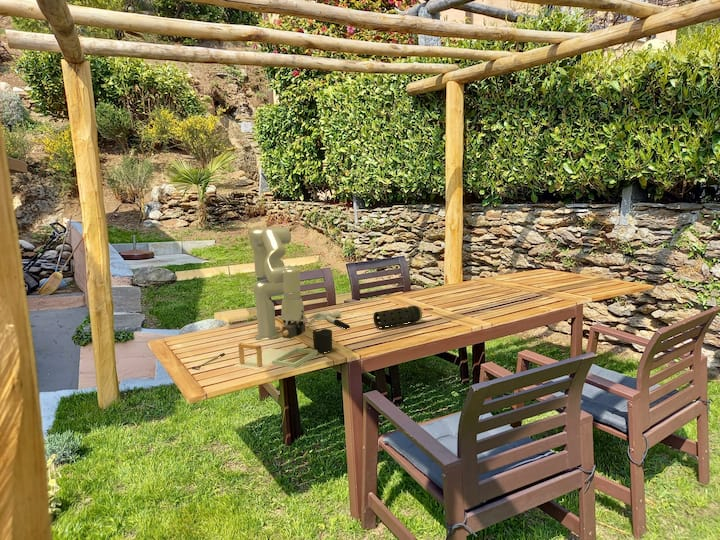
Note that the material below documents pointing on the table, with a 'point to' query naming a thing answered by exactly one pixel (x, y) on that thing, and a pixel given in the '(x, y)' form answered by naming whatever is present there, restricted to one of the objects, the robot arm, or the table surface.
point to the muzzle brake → (397, 316)
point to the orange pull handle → (250, 346)
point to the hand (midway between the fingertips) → (294, 334)
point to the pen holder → (322, 340)
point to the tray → (297, 363)
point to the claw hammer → (329, 318)
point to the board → (266, 359)
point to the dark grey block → (291, 330)
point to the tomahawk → (208, 361)
